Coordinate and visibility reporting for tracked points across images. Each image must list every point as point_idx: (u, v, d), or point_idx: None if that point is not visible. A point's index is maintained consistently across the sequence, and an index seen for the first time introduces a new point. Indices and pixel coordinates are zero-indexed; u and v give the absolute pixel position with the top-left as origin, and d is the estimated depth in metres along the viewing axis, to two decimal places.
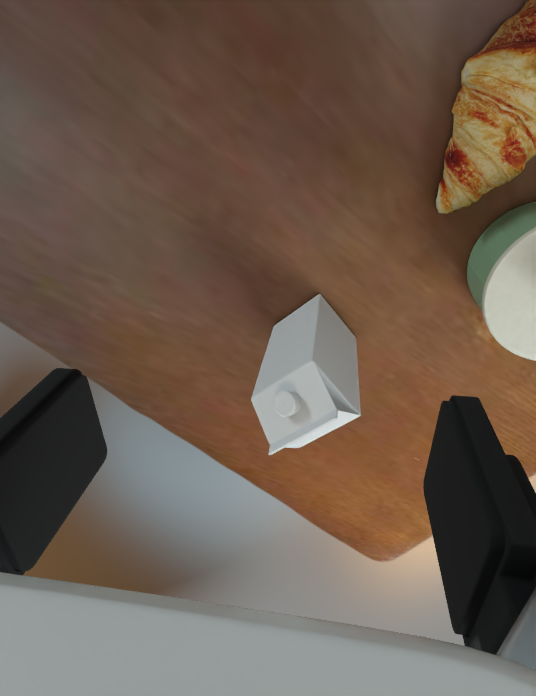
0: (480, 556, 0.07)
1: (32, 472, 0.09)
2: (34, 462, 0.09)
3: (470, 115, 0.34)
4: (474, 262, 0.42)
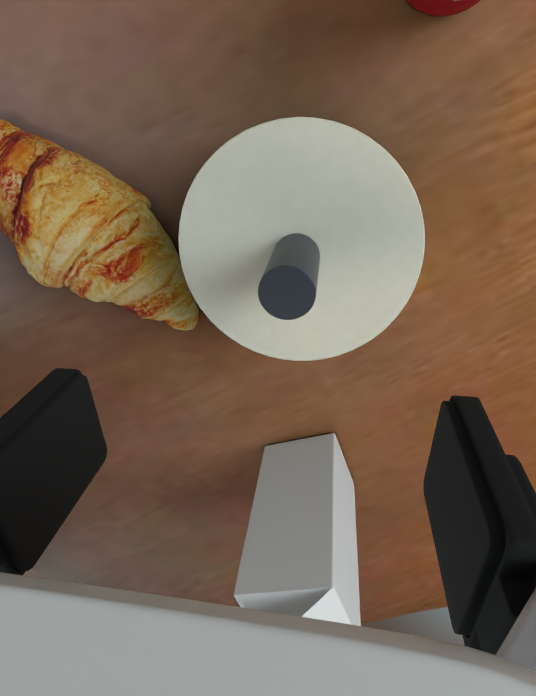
0: (480, 556, 0.07)
1: (32, 472, 0.09)
2: (34, 462, 0.09)
3: (84, 296, 0.31)
4: None
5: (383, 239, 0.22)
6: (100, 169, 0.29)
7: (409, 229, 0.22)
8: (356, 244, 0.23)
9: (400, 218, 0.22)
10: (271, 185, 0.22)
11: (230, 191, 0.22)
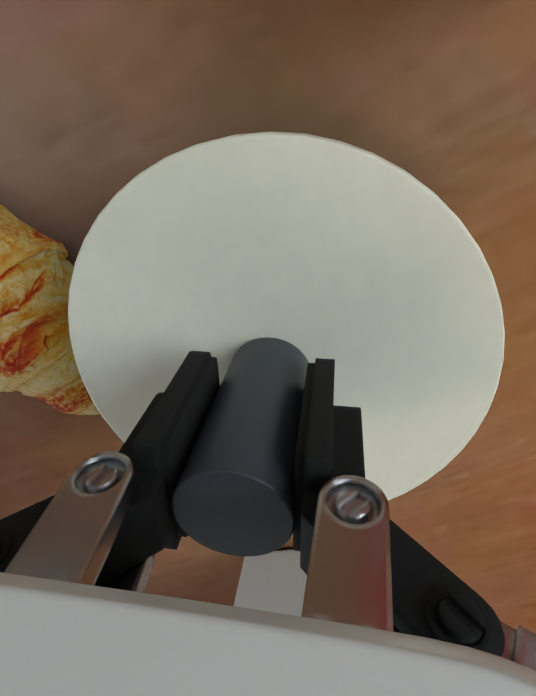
0: None
1: (191, 444, 0.10)
2: (192, 435, 0.10)
3: None
4: None
5: (426, 353, 0.12)
6: None
7: (476, 338, 0.12)
8: (376, 359, 0.13)
9: (460, 320, 0.12)
10: (221, 257, 0.12)
11: (148, 265, 0.12)
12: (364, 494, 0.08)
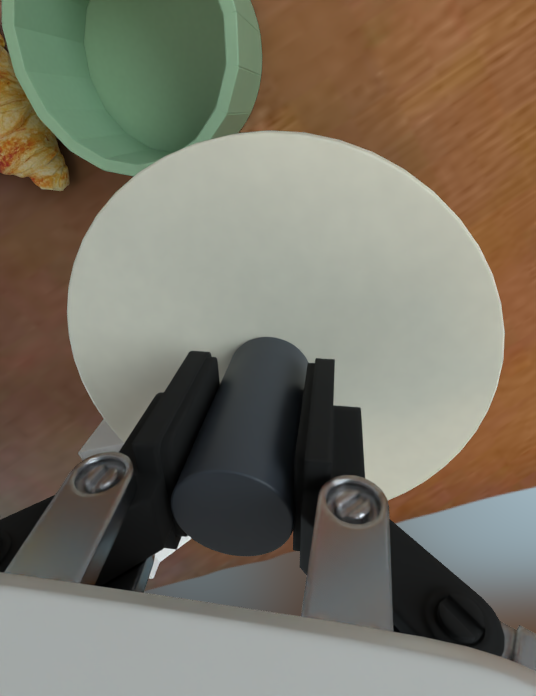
0: None
1: (191, 444, 0.10)
2: (192, 435, 0.10)
3: None
4: None
5: (426, 352, 0.12)
6: None
7: (476, 337, 0.12)
8: (376, 358, 0.12)
9: (460, 320, 0.12)
10: (220, 256, 0.12)
11: (147, 264, 0.12)
12: (364, 494, 0.08)
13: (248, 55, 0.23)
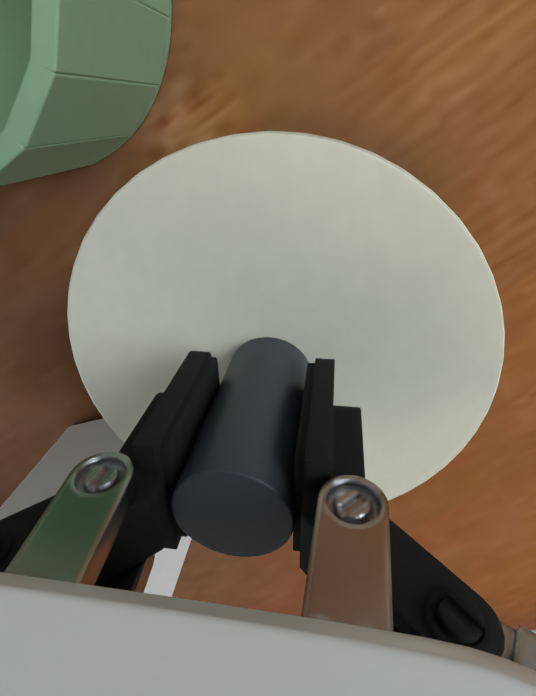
0: None
1: (191, 445, 0.10)
2: (192, 435, 0.10)
3: None
4: None
5: (426, 353, 0.12)
6: None
7: (476, 338, 0.12)
8: (376, 358, 0.12)
9: (460, 320, 0.12)
10: (220, 256, 0.12)
11: (147, 264, 0.12)
12: (364, 494, 0.08)
13: None
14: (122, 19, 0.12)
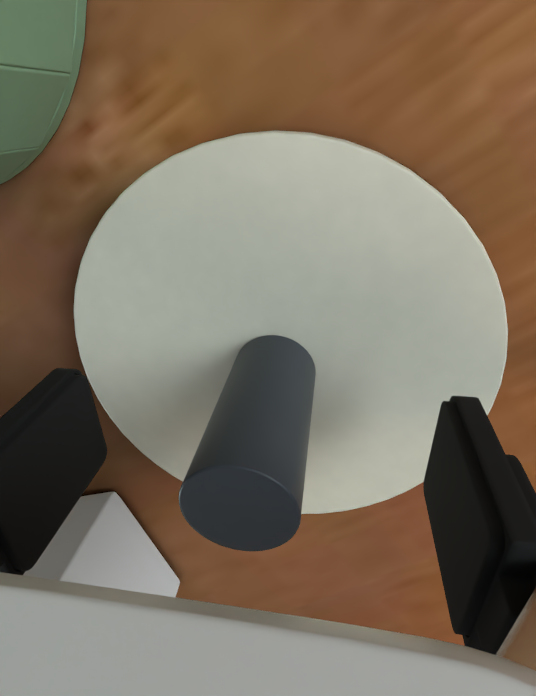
0: (480, 556, 0.07)
1: (32, 472, 0.09)
2: (34, 462, 0.09)
3: None
4: None
5: (430, 351, 0.12)
6: None
7: (479, 336, 0.12)
8: (380, 356, 0.13)
9: (464, 318, 0.12)
10: (226, 255, 0.12)
11: (154, 263, 0.12)
12: None
13: None
14: None
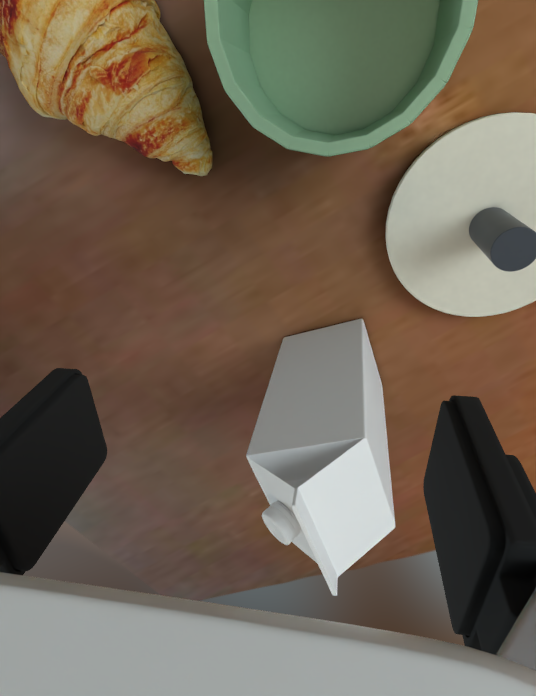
0: (480, 556, 0.07)
1: (32, 472, 0.09)
2: (34, 462, 0.09)
3: (82, 123, 0.27)
4: None
5: None
6: None
7: None
8: None
9: None
10: (481, 167, 0.27)
11: (444, 172, 0.27)
12: None
13: None
14: None
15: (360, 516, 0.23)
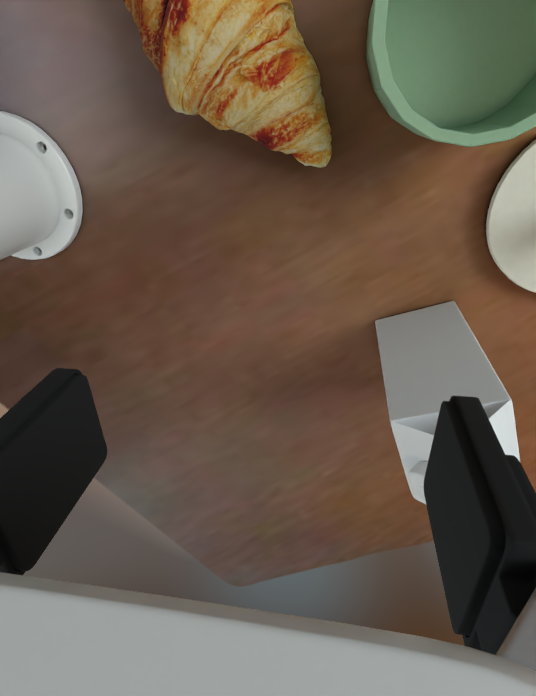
0: (480, 556, 0.07)
1: (32, 472, 0.09)
2: (34, 462, 0.09)
3: (220, 118, 0.29)
4: (411, 130, 0.30)
5: None
6: None
7: None
8: None
9: None
10: None
11: None
12: None
13: None
14: None
15: None
